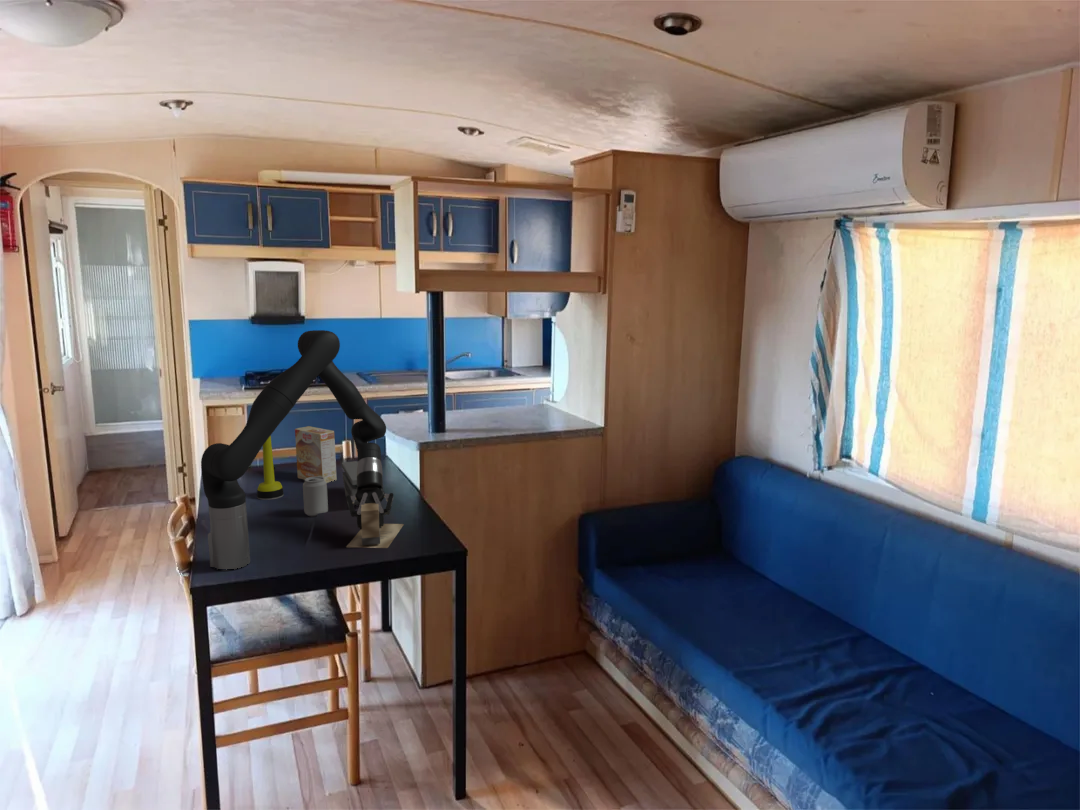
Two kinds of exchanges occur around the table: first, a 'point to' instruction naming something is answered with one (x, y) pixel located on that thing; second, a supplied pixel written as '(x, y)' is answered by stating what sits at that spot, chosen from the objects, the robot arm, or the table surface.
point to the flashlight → (269, 476)
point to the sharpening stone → (350, 479)
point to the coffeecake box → (315, 453)
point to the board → (386, 537)
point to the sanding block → (370, 524)
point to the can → (315, 496)
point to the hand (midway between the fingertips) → (370, 527)
